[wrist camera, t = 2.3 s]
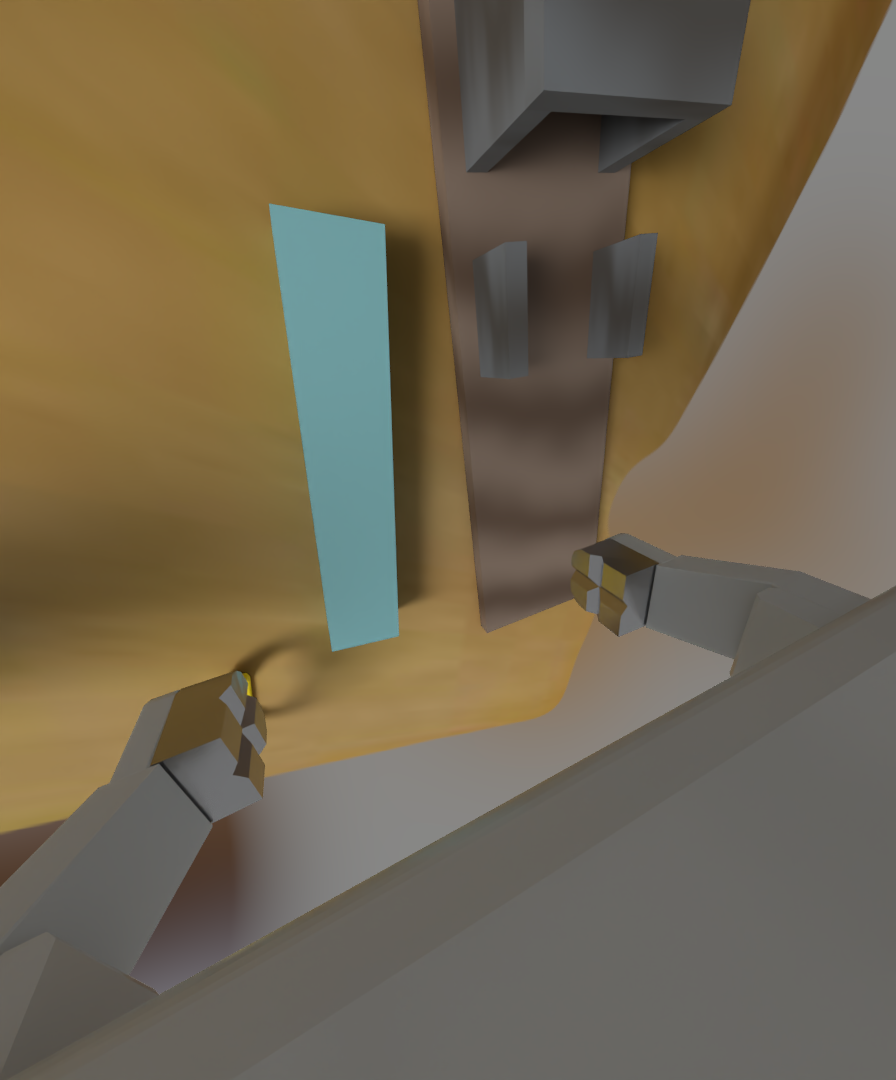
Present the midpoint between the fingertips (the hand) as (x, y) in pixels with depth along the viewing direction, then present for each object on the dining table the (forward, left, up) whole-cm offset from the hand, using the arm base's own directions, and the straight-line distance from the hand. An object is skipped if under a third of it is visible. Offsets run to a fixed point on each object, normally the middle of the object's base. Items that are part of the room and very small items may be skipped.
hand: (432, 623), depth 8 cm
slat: (0, 0, -14) cm, 14 cm away
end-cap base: (-2, +12, -13) cm, 18 cm away
